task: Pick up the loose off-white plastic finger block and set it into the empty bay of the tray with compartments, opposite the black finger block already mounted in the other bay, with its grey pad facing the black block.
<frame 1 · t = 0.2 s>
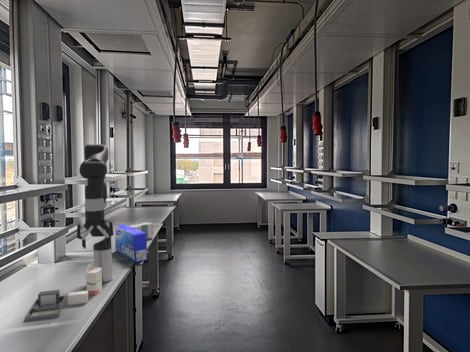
hand: (95, 247, 150), 28 cm above the lab bench, tool pointing down, fingers open, 8 cm apart
tray with compartments: (47, 312, 152), on the lab bench
ink cartridge box: (94, 294, 173), on the lab bench
toner cartridge box: (130, 256, 243), on the lab bench
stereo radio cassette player: (141, 240, 289), on the lab bench
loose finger: (78, 305, 160), on the lab bench
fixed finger: (49, 304, 157), resting on tray with compartments
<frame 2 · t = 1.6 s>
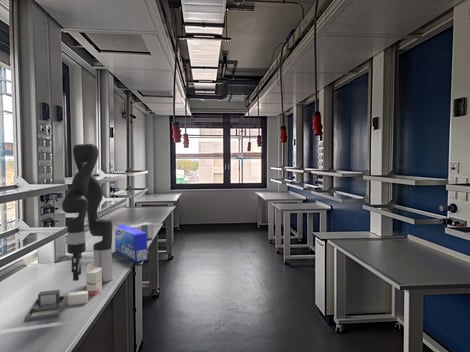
hand: (77, 277, 159), 12 cm above the lab bench, tool pointing down, fingers open, 8 cm apart
nothing on the lab bench moved.
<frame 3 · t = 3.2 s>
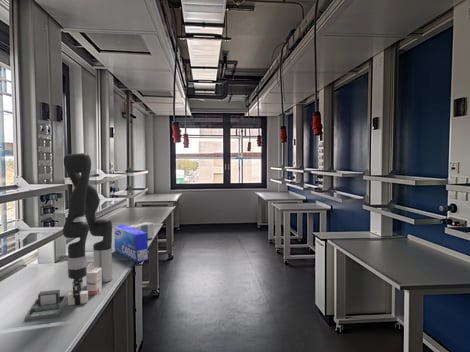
hand: (78, 303, 160), 1 cm above the lab bench, tool pointing down, fingers closed on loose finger, 4 cm apart
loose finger: (78, 304, 159), on the lab bench, touching gripper
everything else where it was.
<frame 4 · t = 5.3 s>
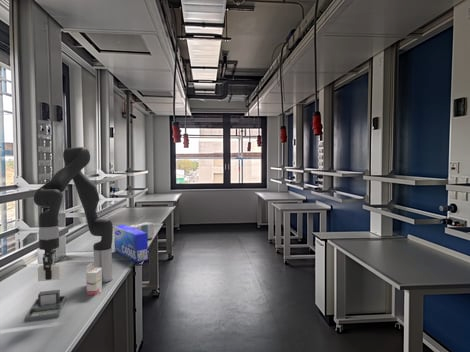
hand: (49, 277, 148), 16 cm above the lab bench, tool pointing down, fingers closed on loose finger, 4 cm apart
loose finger: (49, 279, 148), point 16 cm above the lab bench, touching gripper
everything else where it was.
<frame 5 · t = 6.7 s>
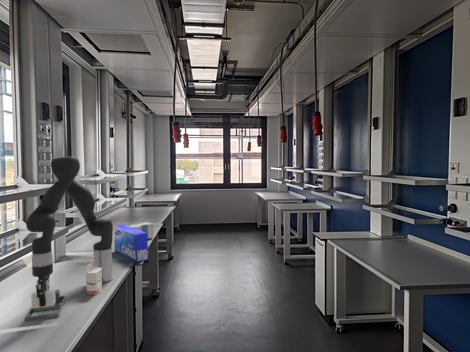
hand: (43, 303, 147), 6 cm above the lab bench, tool pointing down, fingers closed on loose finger, 4 cm apart
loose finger: (43, 305, 147), point 5 cm above the lab bench, touching gripper
everything else where it was.
when the fingers open (3 cm above the lab bench, at t = 7.6 s): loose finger stays where it is, resting on tray with compartments.
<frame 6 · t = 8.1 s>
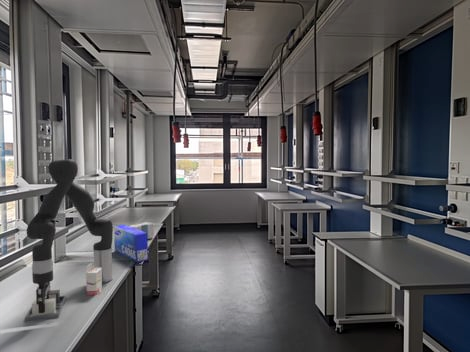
hand: (44, 308, 147), 4 cm above the lab bench, tool pointing down, fingers open, 8 cm apart
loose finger: (44, 314, 147), point 1 cm above the lab bench, touching tray with compartments
everything else where it was.
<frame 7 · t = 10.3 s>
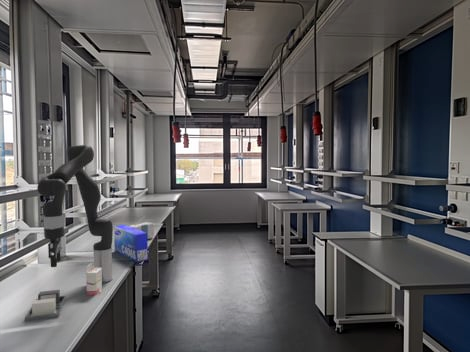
hand: (55, 263, 150), 21 cm above the lab bench, tool pointing down, fingers open, 8 cm apart
nothing on the lab bench moved.
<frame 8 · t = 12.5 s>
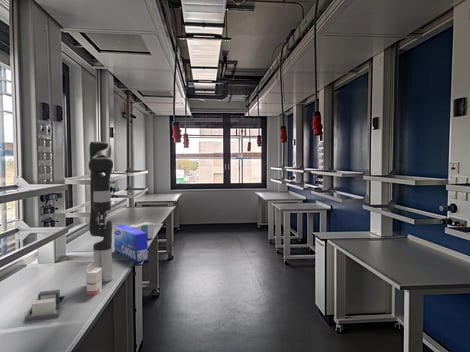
hand: (103, 235, 165), 30 cm above the lab bench, tool pointing down, fingers open, 8 cm apart
nothing on the lab bench moved.
at the end: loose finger inside the target area on the tray with compartments (0.0 cm from its centre), point 1.4 cm above the tray with compartments's base; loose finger tilted 0°; the gripper is holding nothing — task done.
